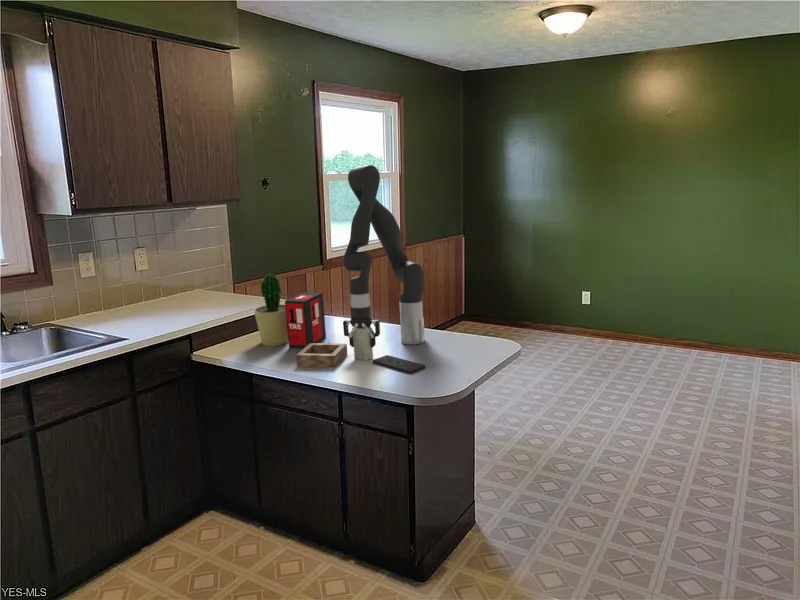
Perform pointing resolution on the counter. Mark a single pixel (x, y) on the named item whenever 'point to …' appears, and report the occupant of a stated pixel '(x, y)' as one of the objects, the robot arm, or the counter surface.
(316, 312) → the cleaning product box
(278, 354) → the counter surface
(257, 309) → the potted cactus
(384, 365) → the smart home device
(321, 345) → the block
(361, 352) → the skincare box
